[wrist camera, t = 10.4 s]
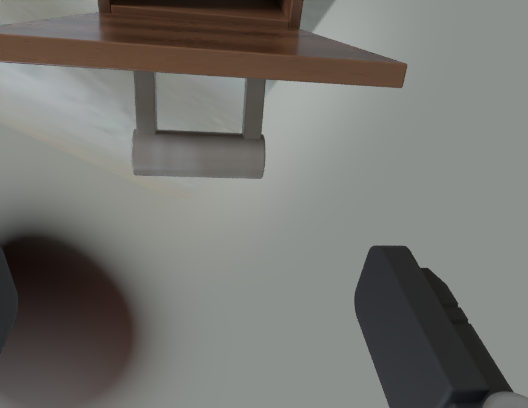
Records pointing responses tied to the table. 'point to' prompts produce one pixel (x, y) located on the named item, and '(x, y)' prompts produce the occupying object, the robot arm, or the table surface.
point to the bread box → (213, 10)
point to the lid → (195, 63)
